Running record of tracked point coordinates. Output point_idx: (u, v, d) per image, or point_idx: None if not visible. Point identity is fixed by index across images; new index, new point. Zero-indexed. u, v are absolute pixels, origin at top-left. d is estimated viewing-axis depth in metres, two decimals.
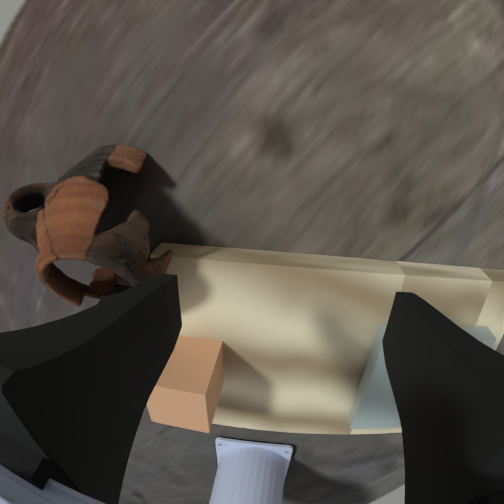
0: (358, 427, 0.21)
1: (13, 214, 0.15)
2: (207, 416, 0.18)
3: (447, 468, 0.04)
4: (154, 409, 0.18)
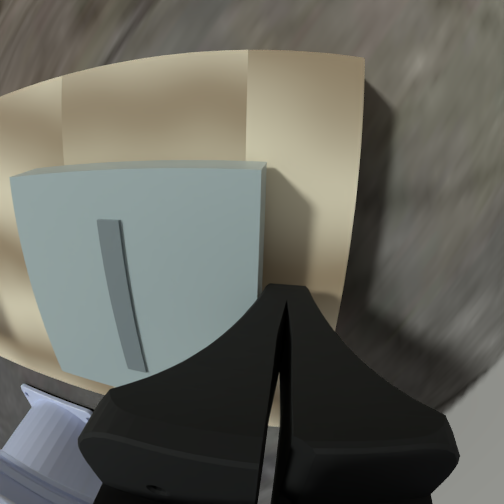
0: (69, 370, 0.12)
1: None
2: None
3: (277, 478, 0.05)
4: None
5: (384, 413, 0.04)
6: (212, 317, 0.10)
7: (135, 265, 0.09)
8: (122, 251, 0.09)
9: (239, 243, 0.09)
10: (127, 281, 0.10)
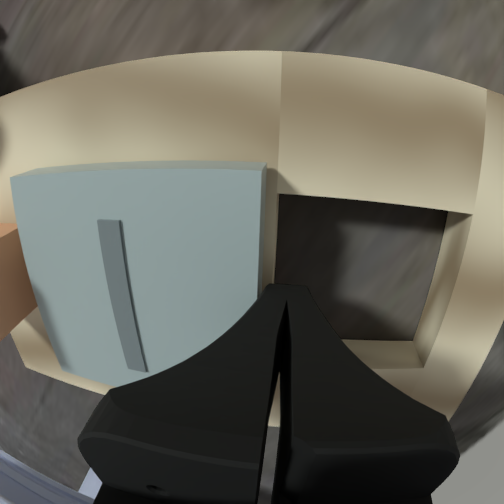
0: (69, 369, 0.12)
1: None
2: None
3: (277, 478, 0.05)
4: None
5: (385, 412, 0.04)
6: (212, 317, 0.10)
7: (135, 266, 0.09)
8: (122, 251, 0.09)
9: (239, 243, 0.09)
10: (128, 281, 0.10)
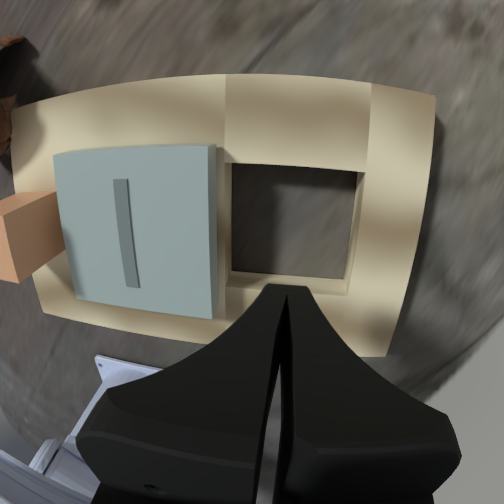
0: (82, 296, 0.18)
1: None
2: (11, 253, 0.14)
3: (279, 478, 0.05)
4: None
5: (387, 413, 0.04)
6: (182, 240, 0.15)
7: (135, 207, 0.15)
8: (127, 198, 0.15)
9: (196, 189, 0.14)
10: (130, 218, 0.15)
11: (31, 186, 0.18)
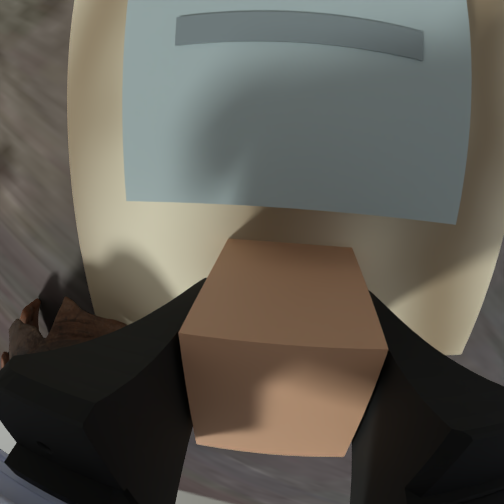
0: (452, 203, 0.07)
1: None
2: (295, 343, 0.06)
3: (381, 477, 0.05)
4: (290, 446, 0.07)
5: (497, 400, 0.03)
6: None
7: (236, 1, 0.06)
8: (217, 16, 0.06)
9: None
10: (260, 13, 0.06)
11: None
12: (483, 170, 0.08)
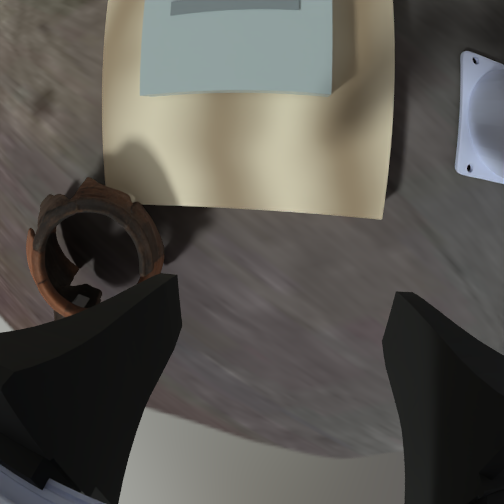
0: (326, 82, 0.12)
1: None
2: None
3: (447, 468, 0.04)
4: None
5: None
6: None
7: None
8: (191, 0, 0.11)
9: None
10: None
11: (192, 171, 0.17)
12: (365, 74, 0.14)
